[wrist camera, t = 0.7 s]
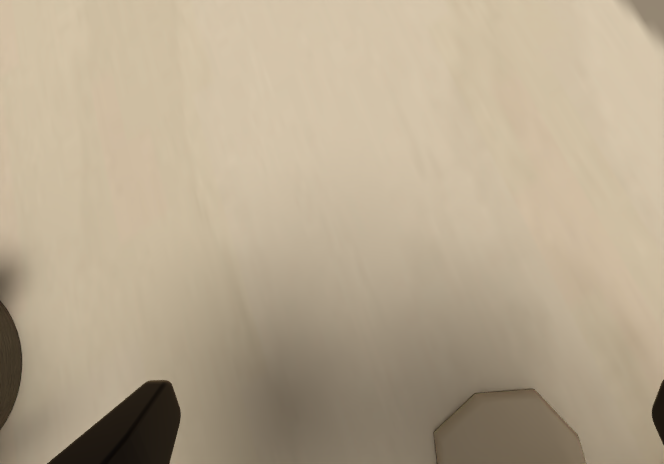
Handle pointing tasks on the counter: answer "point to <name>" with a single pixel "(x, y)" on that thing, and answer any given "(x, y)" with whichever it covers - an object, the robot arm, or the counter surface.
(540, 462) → the flask
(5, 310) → the cooker pot
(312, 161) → the counter surface
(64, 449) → the robot arm
